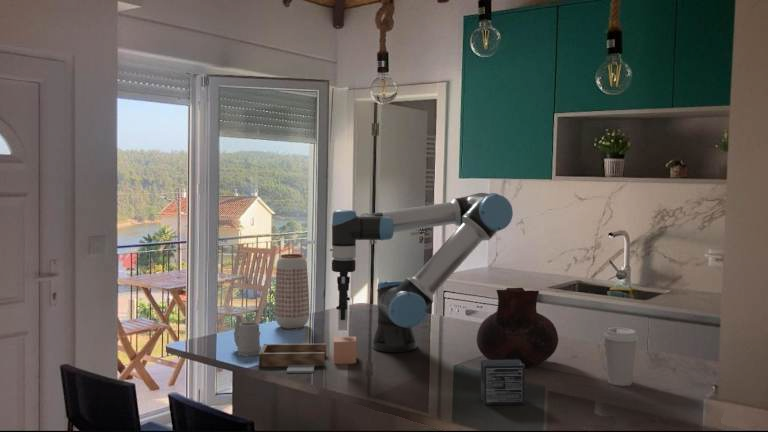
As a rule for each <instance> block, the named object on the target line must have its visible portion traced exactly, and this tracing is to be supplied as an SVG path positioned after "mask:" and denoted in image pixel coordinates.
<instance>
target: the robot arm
mask: <svg viewBox="0 0 768 432" xmlns="http://www.w3.org/2000/svg"><path fill="white" fill-rule="evenodd" d="M513 215H514V214H513V206H512V204H511V202H510V201H509V199H508V198H506V196H503V195H501V194H499V193H491V192H490V193H486V192H478V193H473V194H470V195H467V196H461V197H458V198H457V197H455V198H452V199H451V201H448V202H444V203H435V204H430V205H429V204H428V205H423V206H422V205H421V206H415V207H414V206H413V207H408V208H401V209H394V210H387V211H381V212H374V213H362V214H359V215H358V216H357V212H356V210H354V209H351V210H350V209H337V210H334V211H333V212H332V222H331V248H330V249H329V251H330V252H331V258H333V259H332V260H331V271H332V272H334V273H339V276H337V278H336V282H337V291H338V306H336V310H338V313H337V315H338V322H337V324H338V325H337V329H338V331H348V320H349V319H348V318H349V317H348V313H349V311H348V310H349V308H348V307H349V303H348V302H349V301H350V300H351V299H350V296H349V295H348V291H350V281H351V280H350V279H351V277H350V276H348V274H349V273H353V272H355V271H356V259H355V258H356V257H357V255H356V254H357V244H356V243H357V241H362V240H363V241H375V240H376V241H386V240H387V241H388V240H389V241H390V240H392V238H393V237H394V234H395V233H399V232H405V231H413V230H414V231H415V230H420V229H427V228H435V227H440V226H447V225H455V226H456V227H457V228H456V229H455V231H454V232H453V233H452V234H451V235H450V236H449V238H447V240H446V241H445V242H444V243H443V244H442V245H441V246H440V247H439V248H438V250H436V252H435V253H434V254H433V255H432V256H431V257H430V258H429V260H428V261H427V262H425V264H424V265H423V266H422V267H421V268H420V270H419V271H418V272H416V274H414V276H412V277H406V278H405V279H403V280H382V281H379V282H378V284H377V290H376V292H377V327H376V330H375V332H374V335H373V338H372V348H373V350H377V351H378V352H379V351H380V352H386V353H404V352H411V351H413V350H415V349H417V339H416V335H415V332H414V329H413V328H414V327H417V326H418V325H420V324H421V323H422V322H423V321H424V320H425V318H426V316H427V310H428V309H429V308H430V306H431V305H432V304H433V303H434V295H435V294H436V292H437V291H438V290H440V288H441V287H442V286H443V285H444V284H445V282H447V280H448V279H449V278H450V277H451V276H452V275H453V274H454V272H455V271H457V269H458V268H459V267H460V266H461V265H462V264H463V262H465V260H467V258H468V257H469V256H470V255H471V254H472V253H473V252H474V251H475V249H476V248H477V247H478V246H479V245H480V243H481V242H483V241H484V242H485V241H490V239H492V237H493V236H494V235H495V234H496V233H497V232H498V231H502V230H505V228H507V227H508V226H509V225H510V223H511V222H512V219H513Z"/></svg>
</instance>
